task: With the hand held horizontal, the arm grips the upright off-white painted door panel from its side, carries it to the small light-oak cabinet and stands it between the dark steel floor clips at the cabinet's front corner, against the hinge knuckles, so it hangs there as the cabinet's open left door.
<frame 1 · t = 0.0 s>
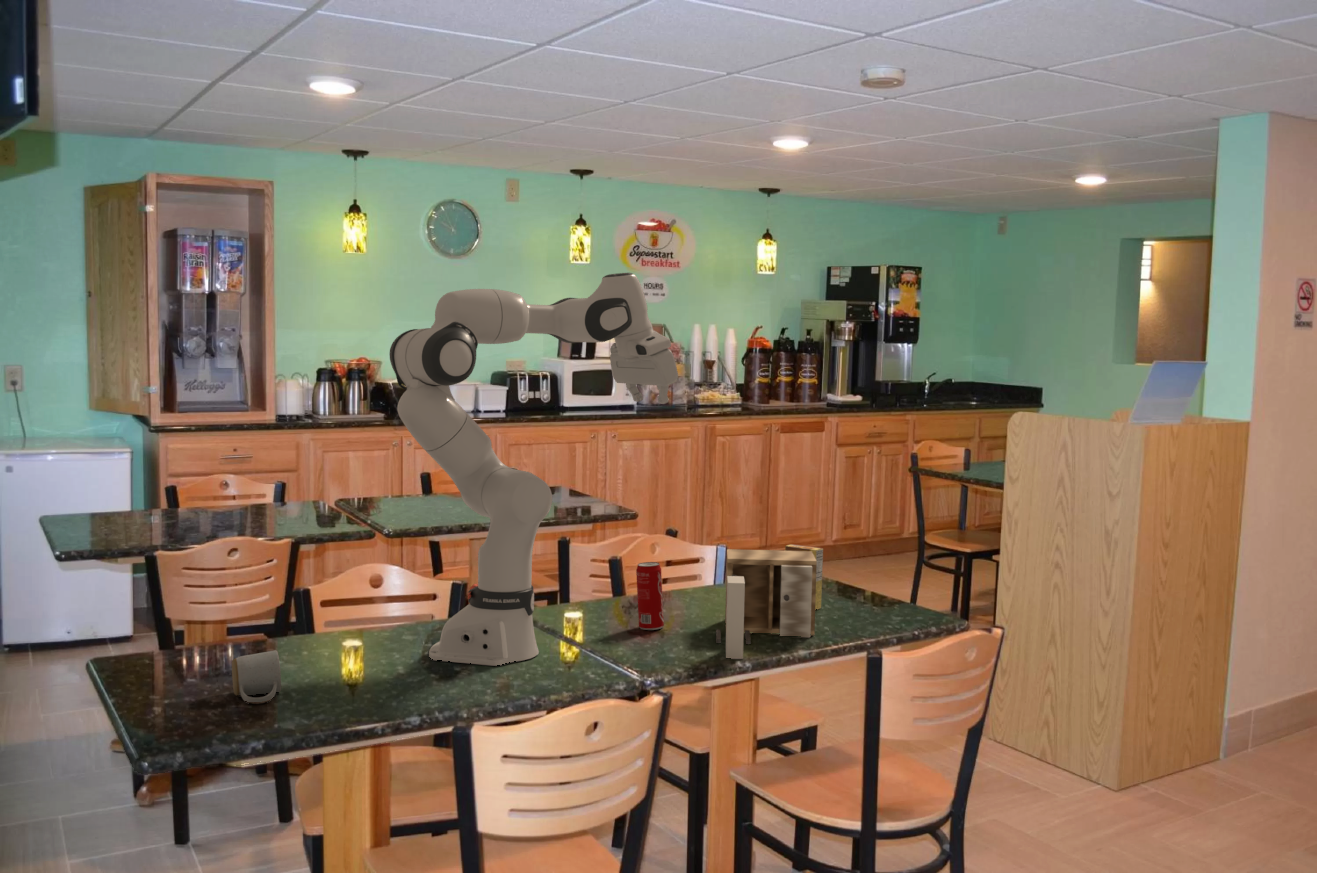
hand: (651, 401, 252), 52 cm above the table, tool tilted 20°, fingers open, 8 cm apart
cabinet: (733, 639, 248), on the table
ceramic mug: (259, 697, 203), on the table
candy box: (802, 607, 280), on the table
door: (734, 654, 236), on the table
beverage can: (649, 628, 257), on the table
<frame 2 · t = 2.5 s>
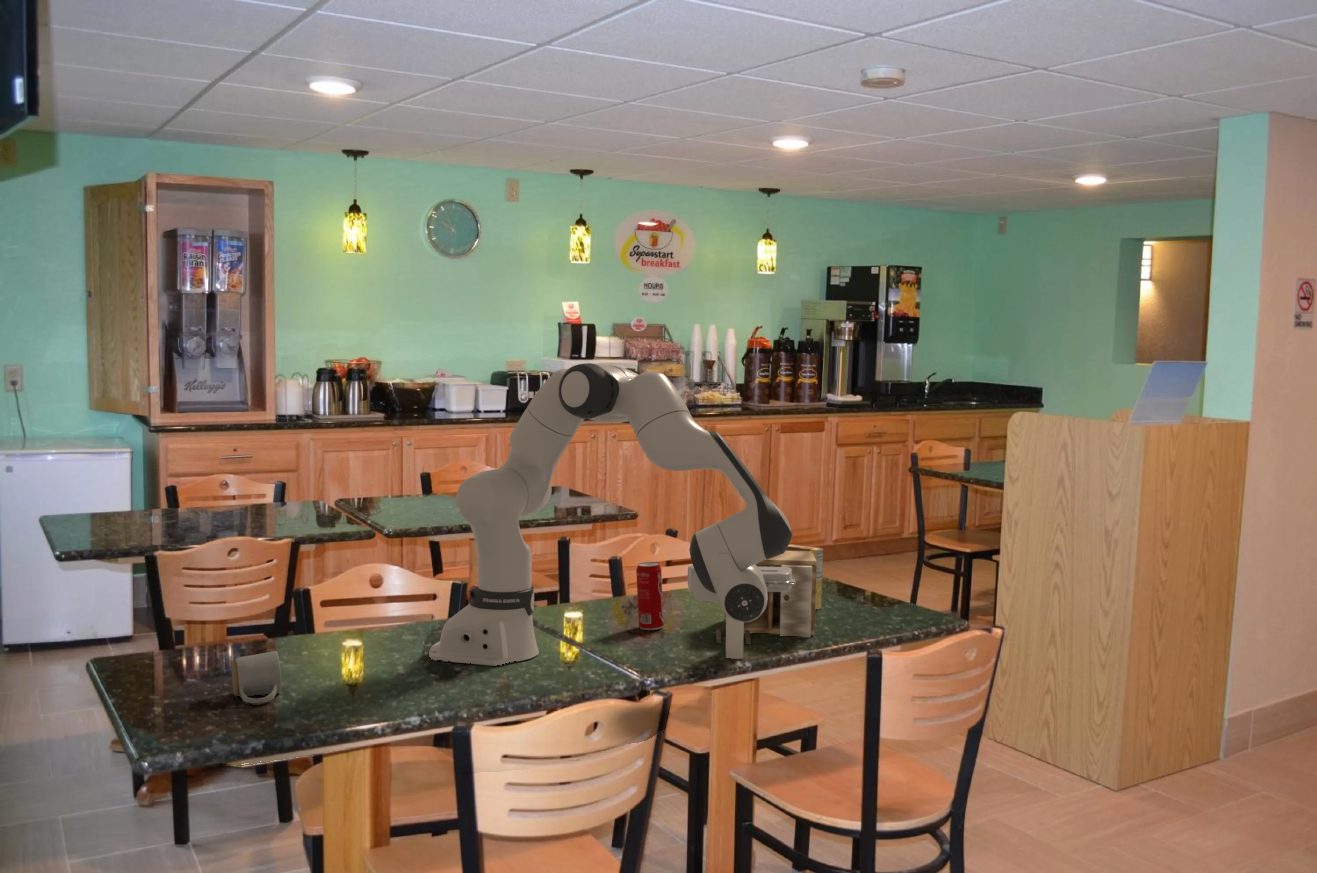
hand: (738, 570, 222), 20 cm above the table, tool horizontal, fingers open, 8 cm apart
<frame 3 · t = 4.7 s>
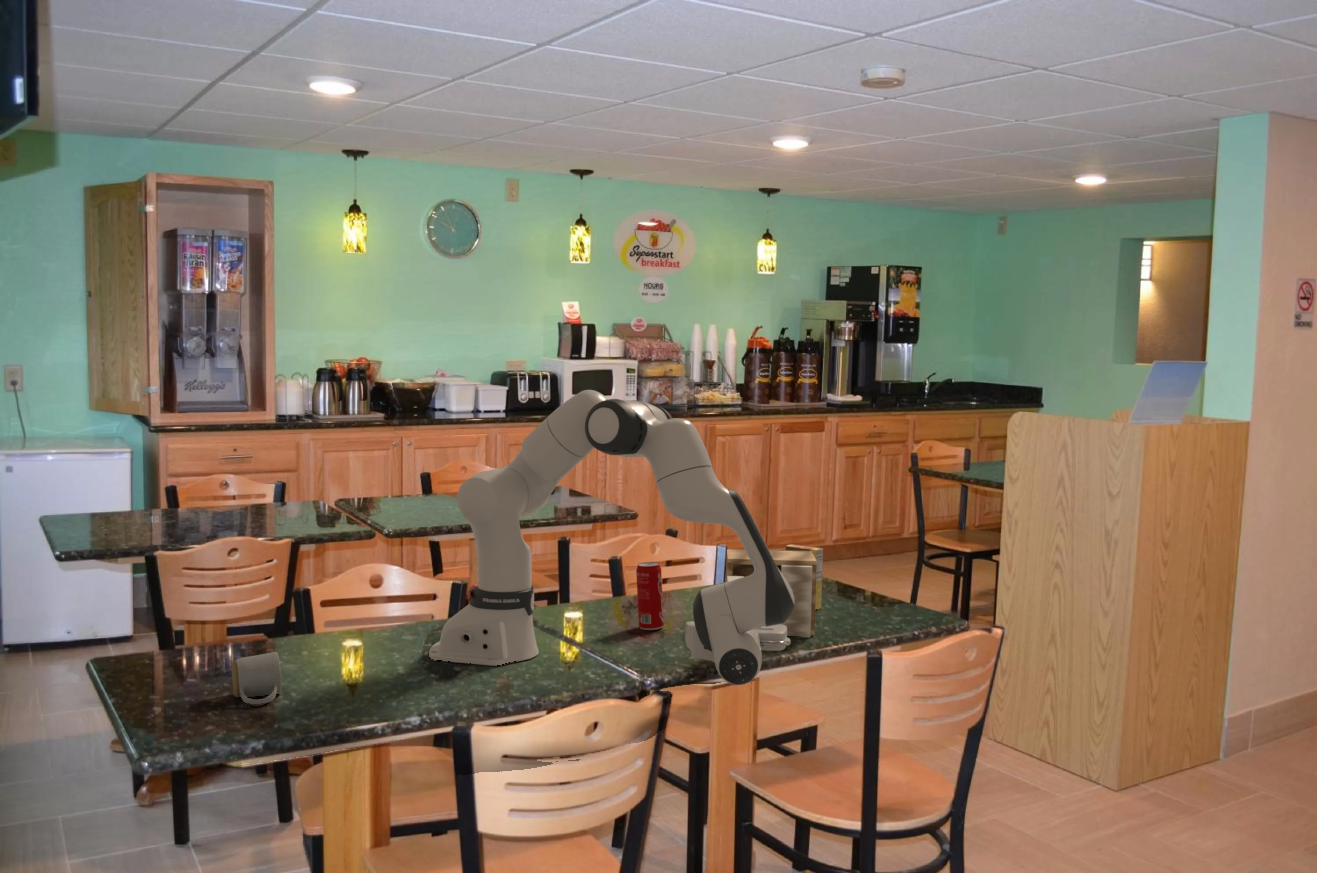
hand: (735, 625, 227), 8 cm above the table, tool horizontal, fingers open, 8 cm apart
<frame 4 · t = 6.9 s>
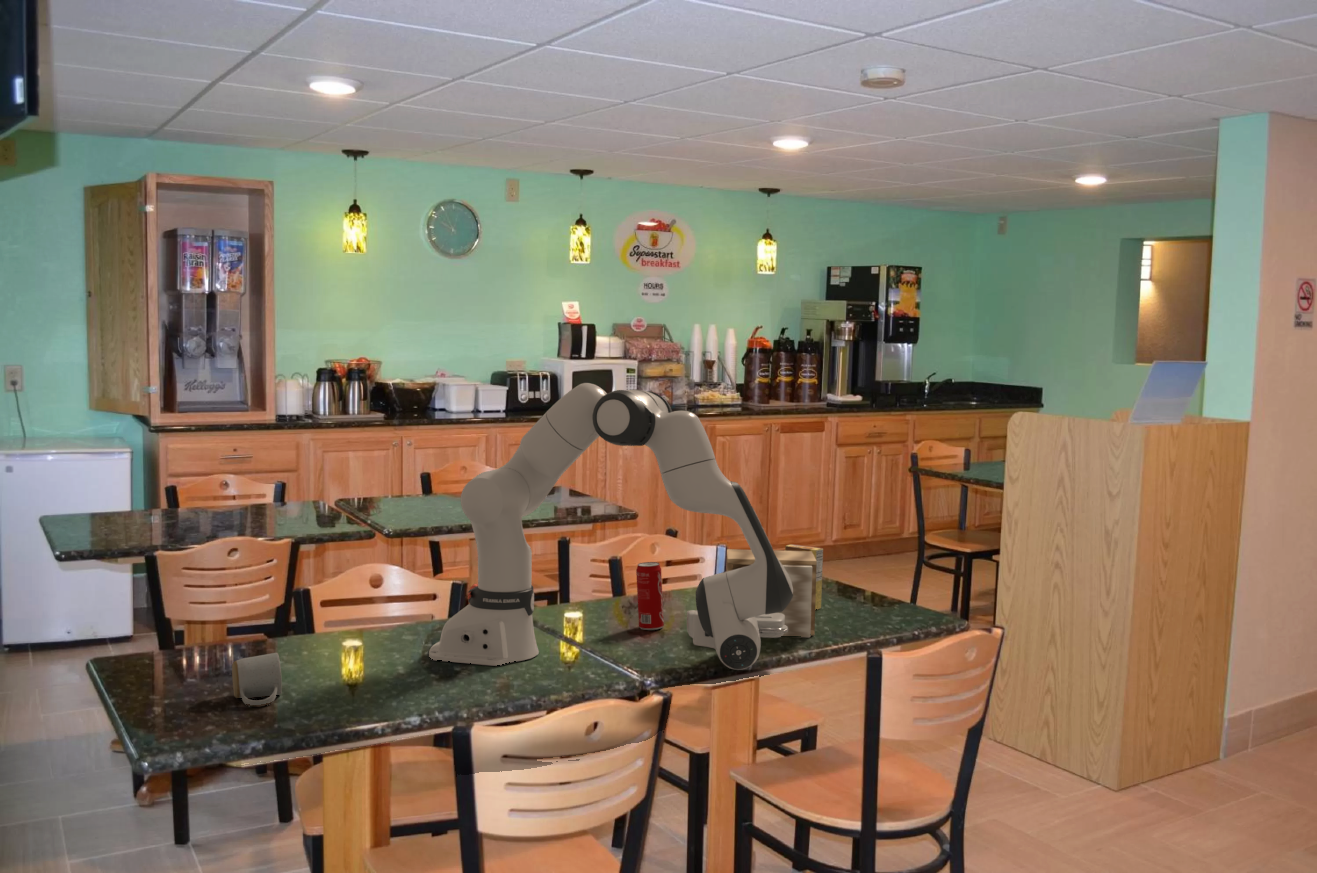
hand: (734, 614, 236), 9 cm above the table, tool horizontal, fingers closed on door, 3 cm apart
door: (734, 654, 236), on the table, touching gripper
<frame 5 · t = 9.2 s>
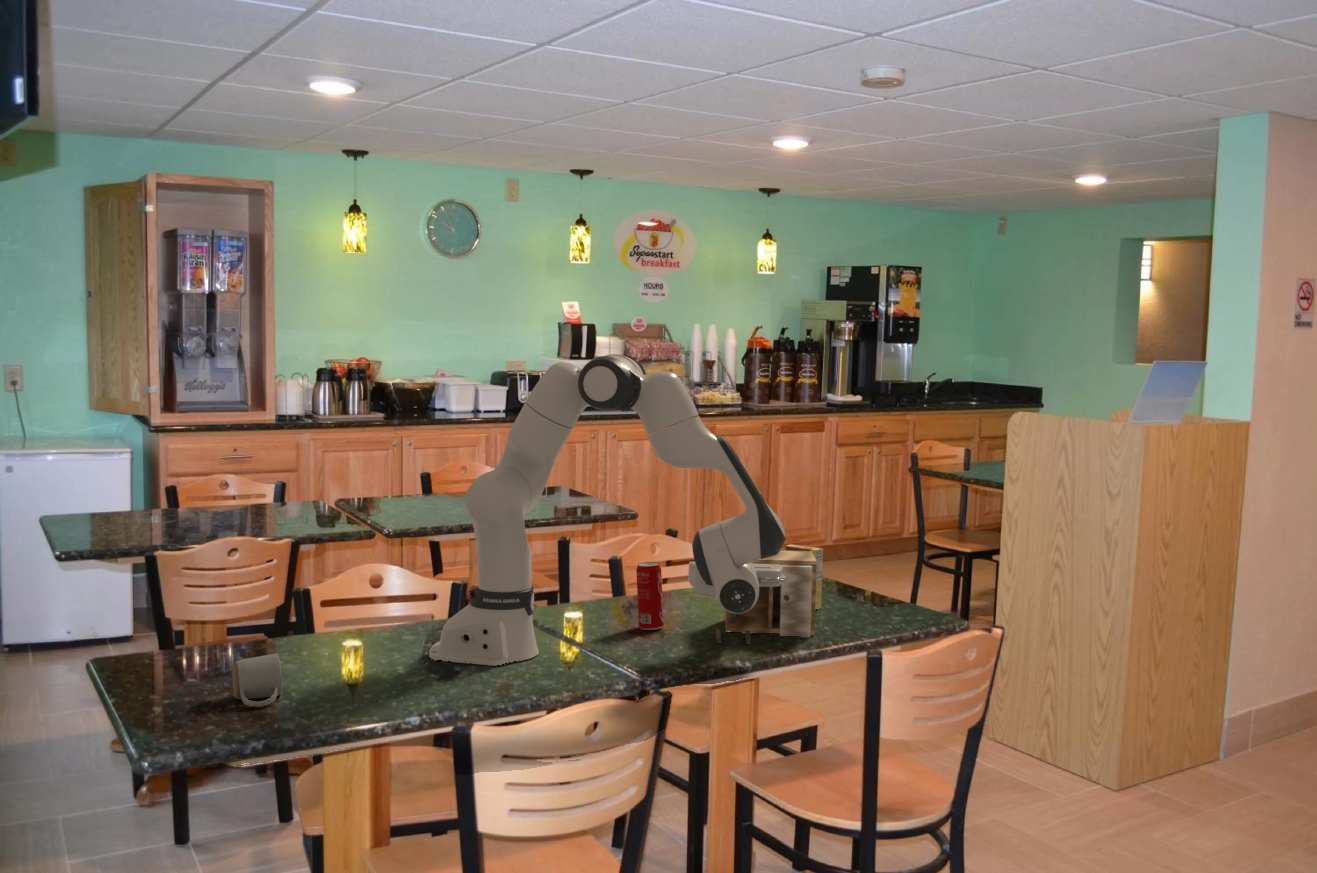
hand: (735, 566, 244), 17 cm above the table, tool horizontal, fingers closed on door, 3 cm apart
door: (734, 605, 245), point 8 cm above the table, touching gripper
when the fingers open (9 cm above the table, at t = 11.7 s): door stays where it is, resting in cabinet.
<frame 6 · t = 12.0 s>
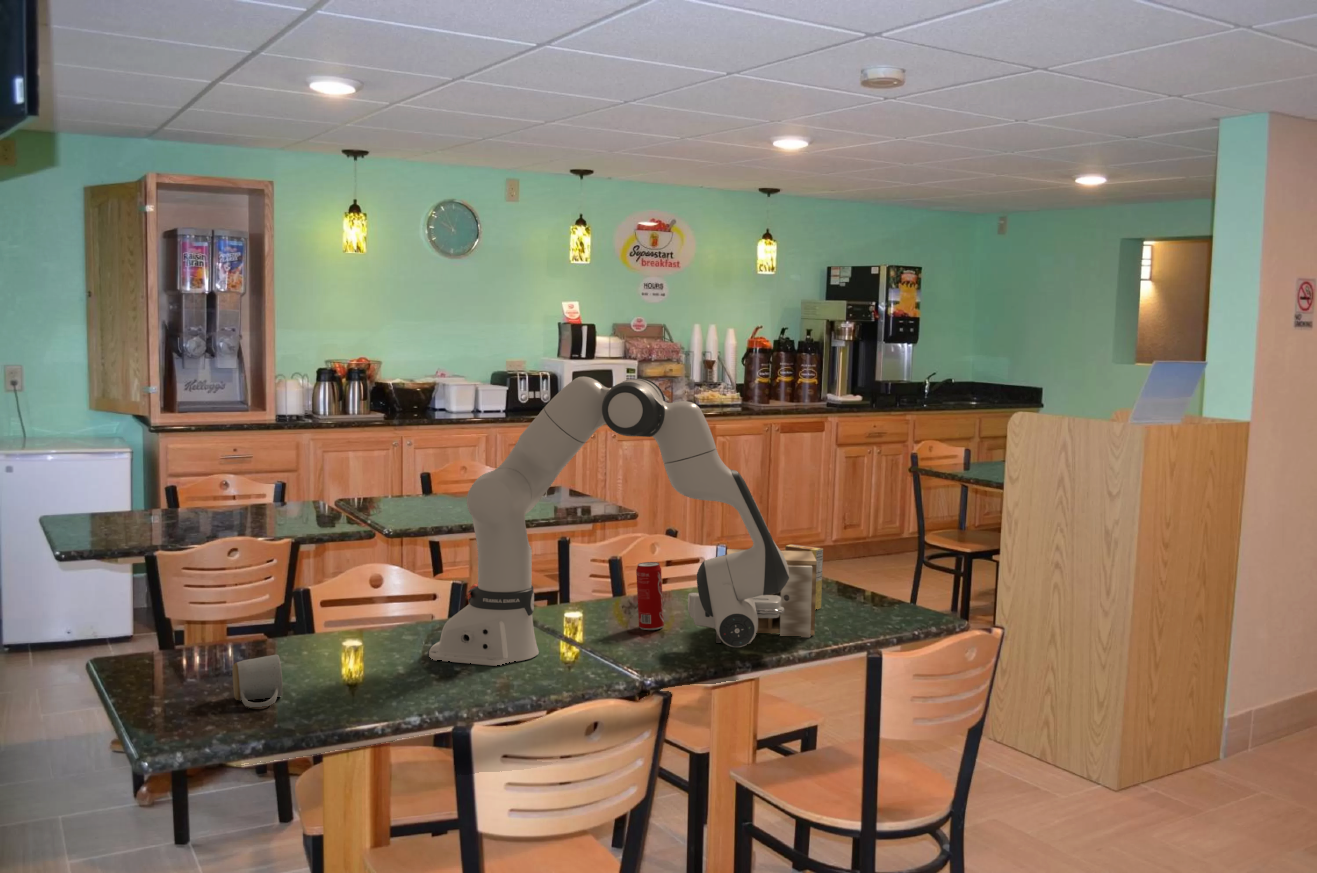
hand: (734, 596, 248), 9 cm above the table, tool horizontal, fingers open, 6 cm apart
door: (732, 639, 248), resting in cabinet
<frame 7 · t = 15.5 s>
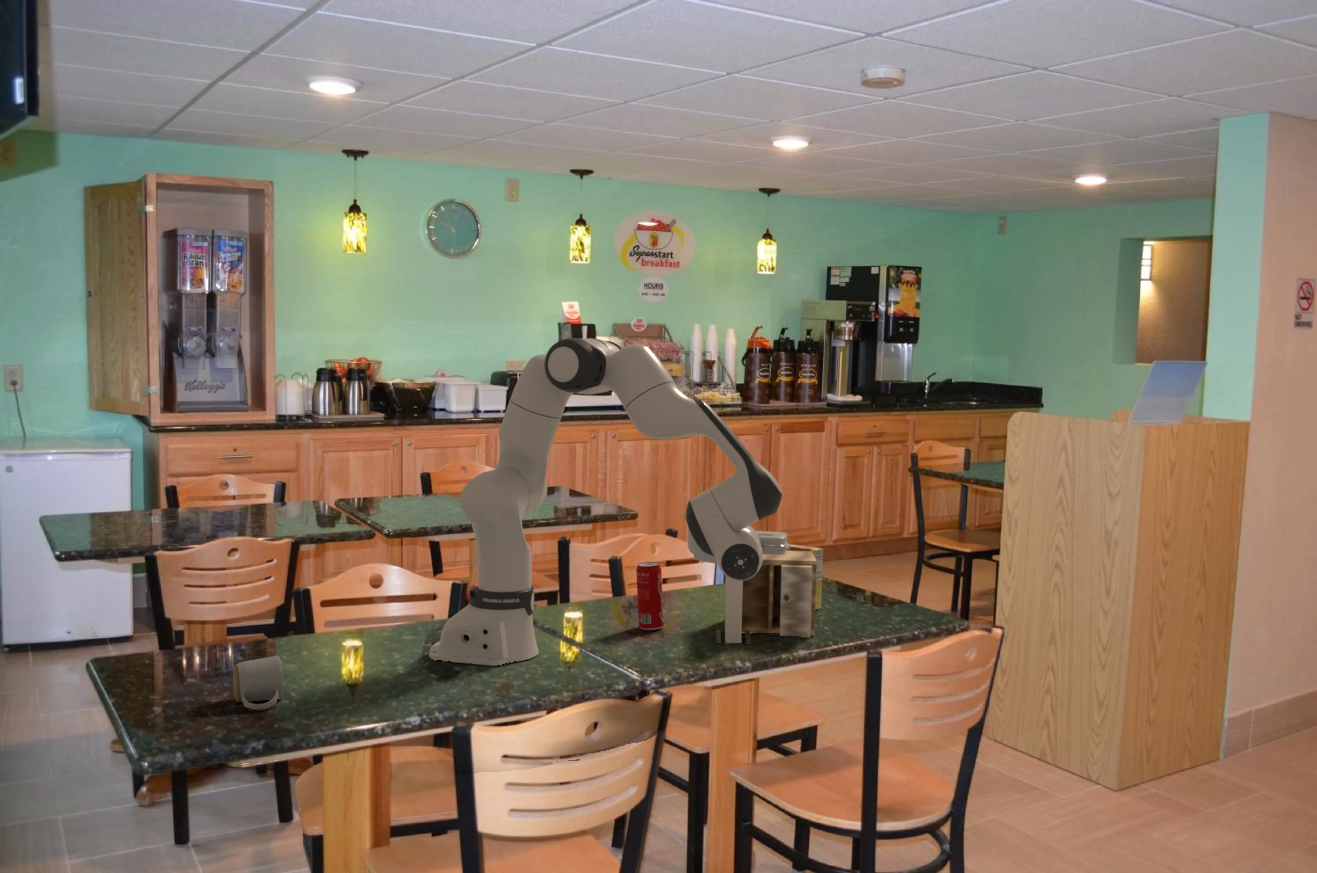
hand: (736, 534, 233), 26 cm above the table, tool horizontal, fingers open, 8 cm apart
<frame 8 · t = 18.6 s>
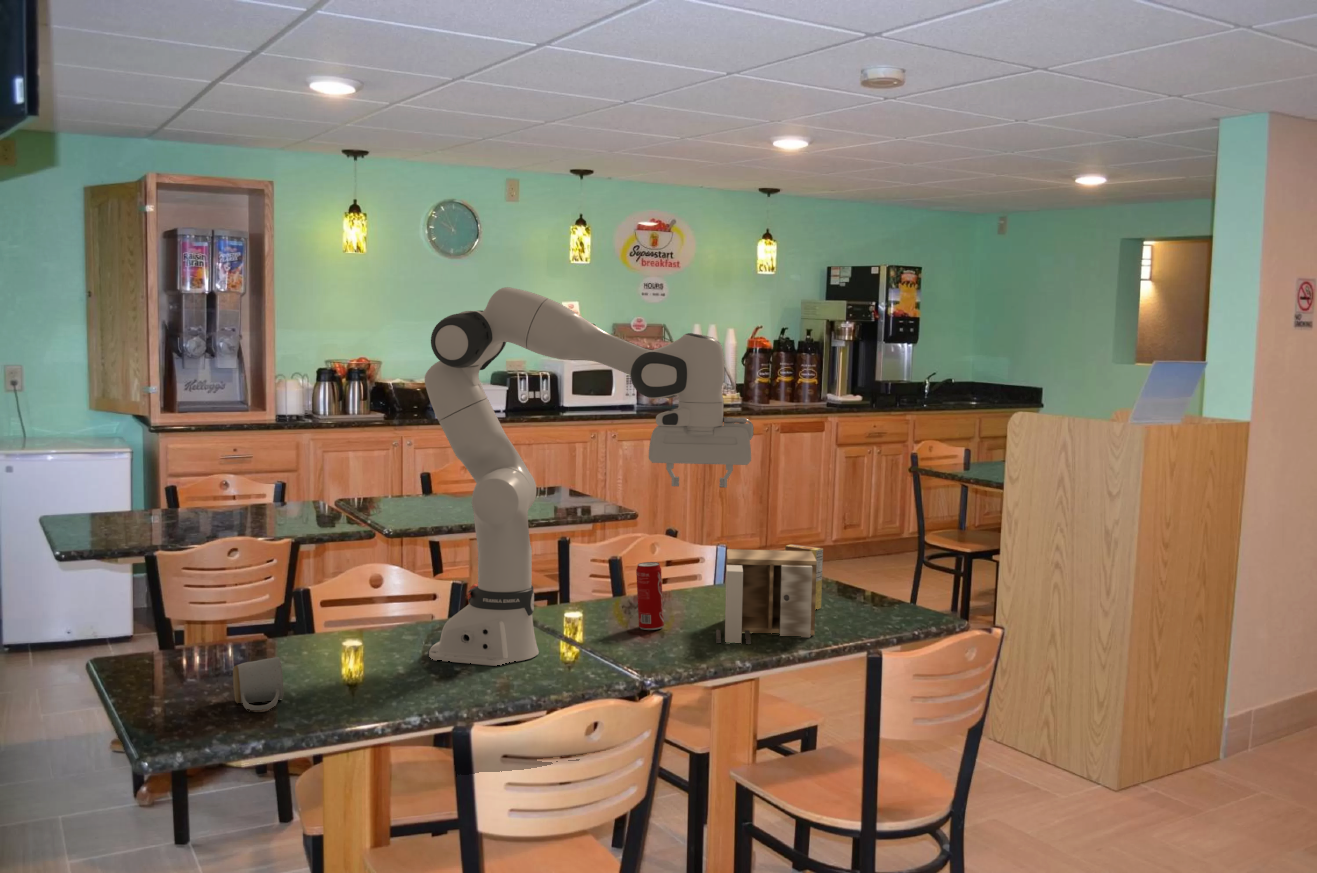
hand: (699, 486, 221), 37 cm above the table, tool pointing down, fingers open, 8 cm apart
at the end: door 0.0 cm off-centre on the cabinet, point 0.0 cm above the cabinet's base; door tilted 0°; the gripper is holding nothing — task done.
